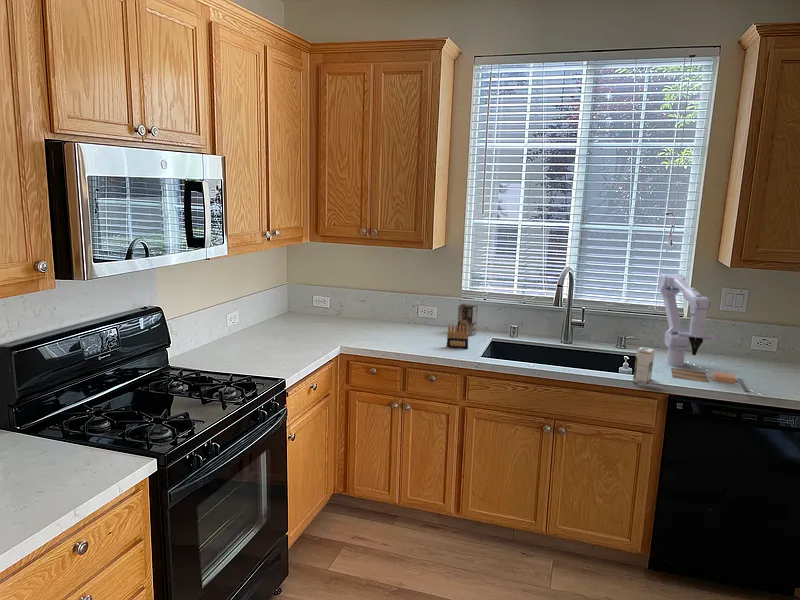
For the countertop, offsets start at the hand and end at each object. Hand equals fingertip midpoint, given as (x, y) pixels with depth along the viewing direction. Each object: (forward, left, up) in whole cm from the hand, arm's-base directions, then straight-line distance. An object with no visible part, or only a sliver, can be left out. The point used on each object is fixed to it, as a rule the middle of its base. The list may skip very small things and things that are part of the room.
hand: (693, 354), depth 254 cm
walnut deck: (+4, -1, -10) cm, 11 cm away
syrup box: (+20, -20, -10) cm, 30 cm away
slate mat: (+4, +13, -10) cm, 17 cm away
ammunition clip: (+5, -106, -10) cm, 107 cm away
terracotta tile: (+4, +12, -10) cm, 16 cm away
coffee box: (-26, -110, -10) cm, 114 cm away
